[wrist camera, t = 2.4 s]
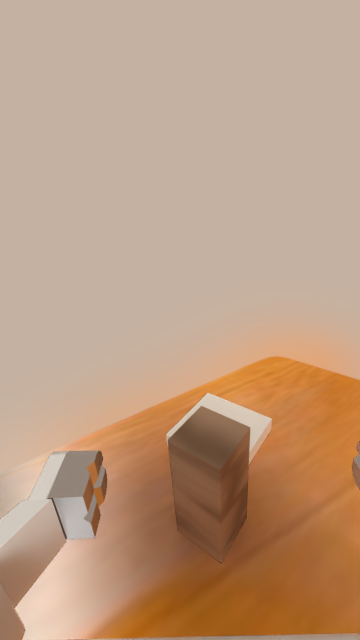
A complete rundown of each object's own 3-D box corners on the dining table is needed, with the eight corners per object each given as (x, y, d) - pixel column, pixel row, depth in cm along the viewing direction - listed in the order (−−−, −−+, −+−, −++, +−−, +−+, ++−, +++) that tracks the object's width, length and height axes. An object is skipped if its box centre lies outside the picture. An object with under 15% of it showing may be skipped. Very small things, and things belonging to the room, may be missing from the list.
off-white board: (208, 403, 47) (207, 392, 46) (270, 430, 41) (271, 418, 40) (167, 446, 40) (165, 434, 39) (235, 485, 34) (236, 473, 33)
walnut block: (204, 491, 34) (201, 405, 29) (246, 517, 31) (250, 427, 26) (177, 529, 30) (167, 439, 25) (221, 563, 27) (220, 469, 22)
